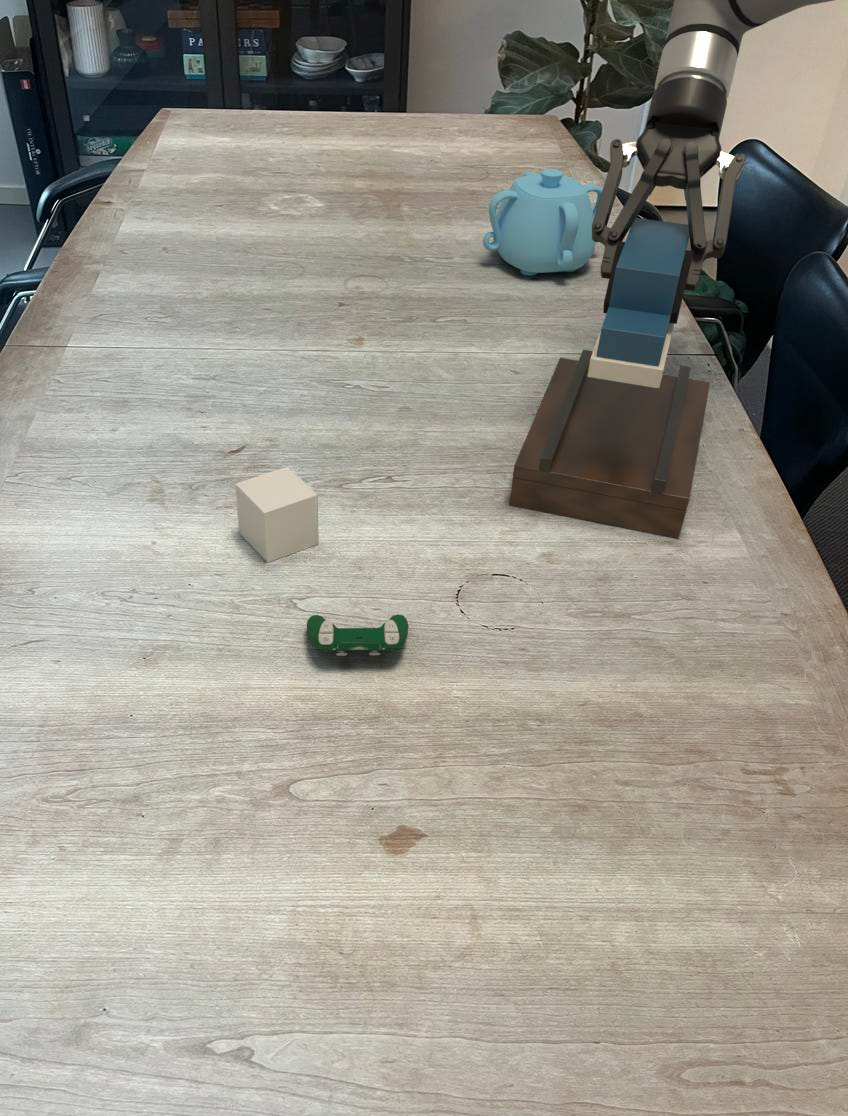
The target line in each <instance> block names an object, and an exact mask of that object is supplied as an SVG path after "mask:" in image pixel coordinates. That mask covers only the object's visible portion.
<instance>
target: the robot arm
mask: <svg viewBox="0 0 848 1116" xmlns="http://www.w3.org/2000/svg"><path fill="white" fill-rule="evenodd" d="M832 1H833V2H834V1H835V0H673V4H672V9H671V13H670V17H669V22H668V27H667V31H666V36H665V39H664V45H663V48H662V51H661V56H660V60H659V65H658V69H657V74H656V78H655V83H654V91H653V92H652V95H651V101H650V104H649V109H648V113H647V117H646V122H645V126H644V129H643V131H642V133H641V134H640V135H639V136H638V138H637V140H636V141H631V142H630V141H629V142H624V143H623V141H622V140H621V139H619V138H616V139H613V140H612V141H611V142H610V147H609V168H608V171H607V175H606V178H605V181H604V184H603V187H602V189H603V191H602V194H601V197H600V200H599V204H598V207H597V210H596V214H595V217H594V220H593V223H592V240H593V241H594V242H595V243H600V244H602V245H603V246H604V247H605V248H604V250H603V251H604V252H603V255H602V260H601V263H600V264H601V265H600V278H602V279H606V280H607V279H608V283H607V286H606V291H605V296H604V300H603V309H602V310H603V312H602V313H603V314H605V315H606V314H607V311H608V308H609V304H610V298H611V293H612V287H613V281H614V276H615V270H616V266H617V263H618V261H619V258H620V255H621V252H622V250H623V247H624V244H625V241H624V239H625V237H627V235H628V233H629V231H630V228H631V226H632V224H633V222H634V221H635V219H636V218H638V216H639V214H640V212H641V211H642V208H643V207H644V205H645V204H646V203H647V200H648V199H649V197H650V196H651V195H652V194H653V192H654V190H655V188H656V187H660V188H663V187H672V188H675V189H678V190H683V195H684V200H685V207H686V216H687V225H688V227H689V245H690V246H689V247H690V250H688V249H686V251H685V256H684V260H683V264H682V269H681V273H680V277H679V282H678V286H677V291H676V295H675V299H674V304H673V308H672V312H671V317H670V322H669V323H673V324H674V325H677V324H678V320H679V315H680V311H681V307H682V302H683V298H684V294H685V291H691V292H695V291H696V289H697V288H698V286H699V281H700V277H701V273H702V267H703V264H704V262H705V261H706V260H707V259H711V258H712V259H716V260H717V259H720V258H722V257H723V255H724V252H725V249H726V246H727V241H728V234H729V228H730V223H731V215H732V209H733V203H734V202H733V201H734V195H735V189H736V184H737V182H738V181H739V179H740V177H741V176H742V173H743V170H744V167H745V162H746V160H747V159H746V155H745V154H744V153H741V152H739V153H736V154H734V155H732V154H729V153H727V152H725V151H722V145H721V142H720V138H721V137H720V136H721V132H722V127H723V123H724V119H725V114H726V110H727V105H728V98H729V97H730V91H731V88H732V83H733V79H734V75H735V71H736V67H737V62H738V57H739V53H740V48H741V46H742V45H741V44H742V40H743V36H744V35H745V34H746V33H747V32H749V31H751V30H753V29H755V28H758V27H761V26H763V25H765V24H767V23H768V22H770V21H773V20H775V19H777V18H780V17H782V16H784V15H786V14H788V13H791V12H793V11H796V10H798V9H801V8H804V7H806V6H811V5H818V4H823V3H828V2H832ZM633 157H637V159H638V161H639V163H640V165H641V167H642V169H643V171H642V173H641V175H640V178H639V180H638V181H637V183H636V185H635V186H634V188H633V190H632V191H631V193H630V195H629V196H628V198H627V201H626V202H625V203H624V205H623V207H622V209H621V211H620V212H619V214H618V216H617V217H616V219H615V221H614V222H613V224H612V225H611V227H609V226H608V224H609V220H610V217H611V213H612V211H613V208H614V204H615V200H616V197H617V194H618V191H619V187H620V184H621V180H622V178H623V170H624V168H627V167H628V166H629V165H630V164H631V161H632V158H633ZM714 166H717V167H718V170H719V171H718V177H719V178H720V179H721V180H722V183H721V188H720V192H719V198H718V205H717V211H716V218H715V223H714V224H715V225H714V231H713V237H712V239H710V240H707V237H706V236H707V235H706V225H705V217H704V207H703V198H702V189H701V186H702V185H701V183H702V182H701V181H702V180H701V178H702V177H704V176H705V175H706V174H707V173H708V172H709V171H710V170H712V169H713V168H714Z"/></svg>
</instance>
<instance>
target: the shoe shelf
mask: <svg viewBox="0 0 848 1116" xmlns="http://www.w3.org/2000/svg"><path fill="white" fill-rule="evenodd" d="M592 353H593V350H589V349H582V351H581V354H580V356H579V359H578V360H577V359H571V358H565V357H559V359H558V362H557V364H556V366H555V367H554V370H553V373H552V375H551V378H550V380H549V382H548V385H547V387H546V390H545V392H544V395H543V397H542V399H541V401H540V404H539V406H538V409H537V411H536V413H535V416H534V418H533V420H532V422H531V425H530V427H529V430H528V432H527V434H526V437H525V440H524V441H523V444H522V446H521V448H520V451H519V454H518V455H517V458H516V461H515V463H514V466H513V471H512V472H513V474H512V481H511V487H510V496H509V503H508V505H509V506H513V507H518V508H522V509H523V508H524V509H528V510H533V511H538V512H542V513H543V512H544V513H547V514H553V515H558V516H562V517H568V518H574V519H578V520H582V521H588V522H593V523H599V524H604V525H608V526H613V527H619V528H624V529H628V530H633V531H639V532H643V533H649V534H653V535H658V536H664V537H668V538H674V539H679V538H680V535H681V532H682V528H683V524H684V520H685V517H686V514H687V509H688V505H689V504H690V503H689V502H690V499H691V493H692V487H693V481H694V476H695V470H696V464H697V460H698V458H697V457H698V453H699V449H700V448H699V447H700V443H701V437H702V431H703V427H704V420H705V415H706V414H705V413H706V409H707V404H708V397H709V391H710V387H711V382H710V381H705V380H700V379H699V380H698V379H693V378H689V377H690V372H691V368H692V367H691V366H687V365H682V364H681V365H680V366H679V370H678V374H677V376H675V375H670V374H669V375H668V374H663V375H662V379H661V383H660V387H659V388H653V387H647V386H641V385H635V384H629V383H623V382H616V381H610V380H604V379H598V378H592V377H588V376H587V375H588V370H589V364H590V358H591V356H592Z"/></svg>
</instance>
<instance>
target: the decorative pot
mask: <svg viewBox="0 0 848 1116" xmlns="http://www.w3.org/2000/svg"><path fill="white" fill-rule="evenodd" d="M602 191H603V187H601V186H599V185H597V184H595V183H587V184H586V183H585V184H582V183H581V182H580V181H579V180H578V181H577V180H576V179H574V178H573V177H570V176H567V175H564V172H563V171H561V170H560V169H558V168H557V169H556V168H545V169H542V170H541V171H540V174H539V173H537V172H535V171H527V172H525V173H523V174H522V176H518V177H517V178H515V179H514V181H513V182H512V184H511V185H510V187H509V188H508V189H504V190H502V191H499V192H497V193H496V194H495V195H493V197H492V198H491V199H490V202H489V203H488V217H489V222H490V226H491V229H492V231H488V232H486V233H485V234H484V237H483V239H482V243H483V247H484V249H486V250H489V251H497V252H498V254H499V256H500V257H501V258H502V259H503V261H505V262H506V263H507V264H509V265H511V266H513V267H514V268H516V269H518V270H520V271H519V273H521V274H522V275H524V276H536V275H537V274H539V273H541V274H542V273H558V272H559V273H560V272H565V273H572V272H575V271H576V270H577V269H580V268H582V267H583V266H584V265H585V264H587V262H588V261H589V260H590V259H591V258H592V257H593V254H594V252H595V250H596V242H594V241H593V240H592V223H593V220H594V217H595V214H596V210H597V207H598V204H599V200H600V197H601V194H602ZM592 192H593V193H596V194H597V196H596V202H595V205H594V207H592V204H591V200H590V197H589V194H588V193H592ZM499 204H500V205H499ZM498 205H499V208H498ZM497 209H498V210H497ZM491 238H492V240H493V241H492V242H490V240H491Z"/></svg>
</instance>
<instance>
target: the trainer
mask: <svg viewBox="0 0 848 1116" xmlns="http://www.w3.org/2000/svg"><path fill="white" fill-rule="evenodd" d="M689 241H690V237H689V227H688V223H687V224H686V223H678V222H670V221H663V220H654V219H647V218H641V217H640V218H638V217H636V219H635V221H634V222H633V224H632V226H631V227H630V229H629V231H628V232H627V235H626V239H625V241H624V242H625V244H624V247H623V250H622V252H621V255H620V258H619V261H618V263H617V266H616V270H615V276H614V281H613V287H612V293H611V298H610V304H609V308H608V311H607V314H606V313H605V315H604V319H603V322H602V325H601V328H600V330H599V332H598V336H597V339H596V342H595V344H594V348H593V350H592V351H593V353H592V356H591V358H590V364H589V370H588V375H587V376H588V377H592V378H598V379H604V380H610V381H616V382H623V383H629V384H635V385H641V386H647V387H653V388H659V387H660V383H661V379H662V375H664V370H665V366H666V362H667V358H668V353H669V349H670V344H671V341H672V340H671V339H672V336H673V333H674V327H675V324H673V323H669V322H670V317H671V312H672V308H673V304H674V299H675V295H676V291H677V286H678V282H679V277H680V273H681V269H682V264H683V260H684V256H685V251H686V250H688V249H687V248H688V245H689Z"/></svg>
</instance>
